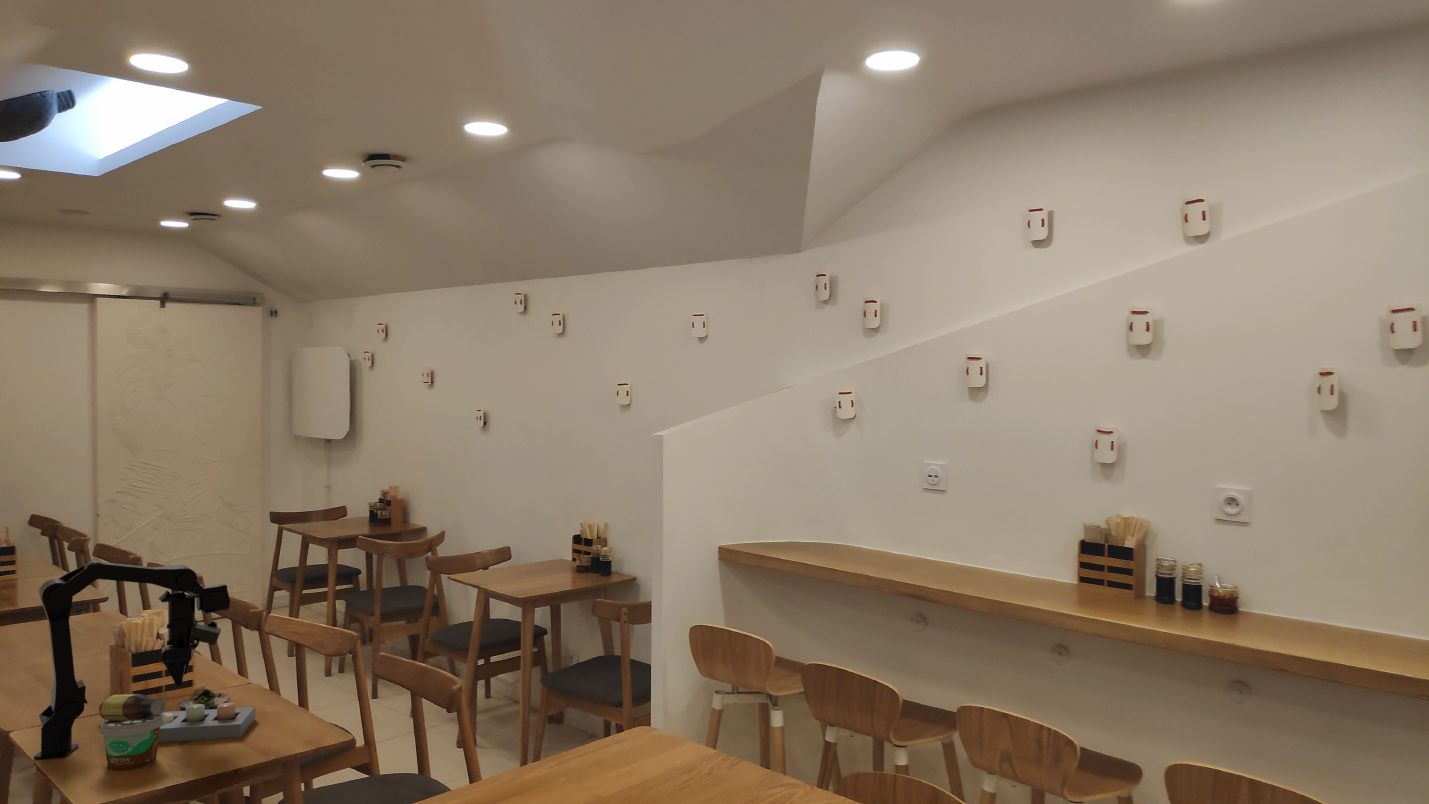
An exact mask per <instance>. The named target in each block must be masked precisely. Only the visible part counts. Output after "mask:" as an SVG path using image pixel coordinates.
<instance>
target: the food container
mask: <svg viewBox="0 0 1429 804" xmlns="http://www.w3.org/2000/svg"><path fill="white" fill-rule="evenodd" d="M163 724H164V723H163V718H161V715H160V716H159V717H157V718H155V719H153V720H143V719H141V720H127V721H114V722H106V719H103V720H102V723H101V724H100V729H99V733H100V735H102V736H103V739H104V740H103V741H104V749H105V756H106V758H105V759H106V765H107V769H109V770H111V771H119V772H120V771H129V770H135V769H138V768H143V767H145V766H147V765H149V764H152V763H154V762H155V761H156V760H157V753H158V746H159V742H158V739H159V731H160V726H162V725H163Z"/></svg>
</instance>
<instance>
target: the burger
mask: <svg viewBox="0 0 1429 804" xmlns="http://www.w3.org/2000/svg"><path fill="white" fill-rule="evenodd" d="M193 681H194V684H196V682H195V680H193ZM207 686H208V684H206V683H200V684H197V685H195V686H194V687H193V688H192V690H191V693H190V697H187V698H185V699H183V700H181V701H179V704H178V705H179V708H178V711H186V707H188V706H190V705H195V704H203V705H205V710H210V709H215V708H217V706H218V705H220V704H222V703H227V702H228V700H229V699H231V697H230V696H229V695H228V694H225V693H223V692H220V693H219V692H218V693H215V692H214V691H212V690H211V689H208V688H207Z"/></svg>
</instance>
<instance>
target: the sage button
mask: <svg viewBox="0 0 1429 804" xmlns="http://www.w3.org/2000/svg"><path fill="white" fill-rule="evenodd" d="M204 718H205V705H203V704H195V705H190V706H188V707H186V721H187V722H196V721H200V720H203V719H204Z"/></svg>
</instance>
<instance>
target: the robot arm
mask: <svg viewBox="0 0 1429 804" xmlns="http://www.w3.org/2000/svg"><path fill="white" fill-rule="evenodd" d="M97 580H105V581H106V580H107V581H117V582H119V581H120V582H125V583H126V582H129V583H137V584H147V585H148V584H149V585H155V586H158V587H161V588H164V589H169V590H172V591H175V592H172V593H171V592H170V591H169V590H165V592H164V593H163V594H161V596H159V597H158V600H159V601H160V602H161V603H167V609H168V610H167V612H168V615H167V617H168V618H167V619H168V621H167V623H166V629H167V631H168V635H167V636H168V637H167V640H166V648H164V649H163V651H162V652H161V662H162V664H163V665H164V666H165V668H166V669H167V671H168V673H169V675H170V677H171V678H172V681H173V682H174V684H175V686H177V687H179V686H182V684H183V681H184V680H183V679H184V675H187V674H188V671H189V666H190V662H191V661H192V659H193V656H194V650H195V649H197V648H198V647H199V645H200V642H201V643H205V644H208V645H210V646H216V644H217V642H218V639H219V637H220V635H221V632H222V629H221V627H219V626H218V622H217V621H214V620H210V621H209V622H207V624H204V623H203V624H201V623H198V619H197V617H196V610H197V611H201V613H202V614H203V615H205V614H206V615H207V614H212V613H220V612H226V611H229V609H230V606H231V598H230V595H229V594H230V593H229V591H228V585H227V584H225V583H220V584H217V585H210V586H203V584H201V583H199V582H198V575H197V573H196V572H195V571H194V570H193V569H192V568H190V567H188V566H187V565H184V564H174V565H173V564H172V565H163V566H147V565H146V566H144V565H136V564H135V565H133V564H125V563H123V564H122V563H114V562H105V561H103V562H102V561H99V560H97V559H96V560H95V559H93V560H90V561H87V562H86V563H85V564H83V565H81V566H80V567H77V568H75V569H74V570H72V571H71V570H70V571H69V572H67V573H65V574H63V575H62V576H60V577H58V578H52V579H49V580H48V579H47V581H45V582H44V583H42V585H40V587H39V589H38V596H39V598H40V601H41V605H42V607H43V610H44V613H45V616H46V618H47V622H48V631H49V639H50V640H49V641H50V651H51V658H52V659H51V660H52V667H53V668H52V669H53V670H52V671H53V677H54V678H53V679H54V680H53V684H52V691H51V697H50V705H48V706H47V707H46V708H45V709H44V710H43V711H41V713H40V714H39V715H38V717H39V720H40V723H41V725H42V727H41V728H40V751H38V753H36V754H35V755H34V756H33V759H34V760H36V759H37V760H38V759H40V760H41V759H53V758H56V759H57V758H64V757H67V756H68V755H69V754H71V753H73V751H75V750H76V749H77V748H78V747H79V744H76V743H75V744H72V742H73V741H72V739H73V738H72V737H73V736H72V735H73V733H72V732H73V726H74V723H75V721H76V719H78V718H79V717H80V716H81V715H82V713H84V710H85V704H86V705H87V704H88V703H89V702H88V700H87V699H86V691H87V689H86V688H87V686H86V684H85V682H84V681H83V680H82V679H80V680H77V679H76V675H75V667H74V666H75V665H74V655H73V645H72V635H71V627H70V626H71V625H70V618H71V611H72V607H73V597H74V596H76V595H77V594H79V593H81V592H82V591H83V590H85V589H86V588H87V587H88V586H90V585H91V584H93V582H95V581H97ZM186 592H190V593H189V594H186Z"/></svg>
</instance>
